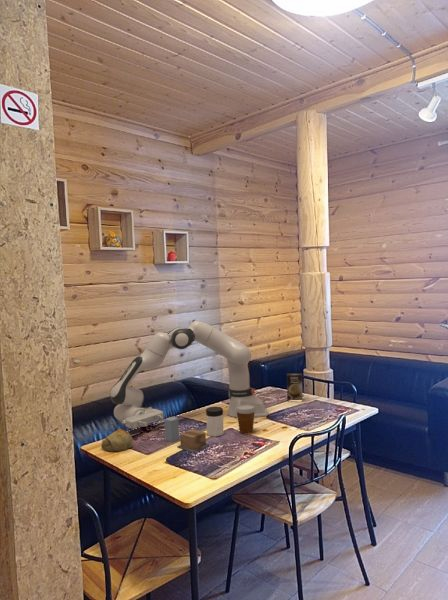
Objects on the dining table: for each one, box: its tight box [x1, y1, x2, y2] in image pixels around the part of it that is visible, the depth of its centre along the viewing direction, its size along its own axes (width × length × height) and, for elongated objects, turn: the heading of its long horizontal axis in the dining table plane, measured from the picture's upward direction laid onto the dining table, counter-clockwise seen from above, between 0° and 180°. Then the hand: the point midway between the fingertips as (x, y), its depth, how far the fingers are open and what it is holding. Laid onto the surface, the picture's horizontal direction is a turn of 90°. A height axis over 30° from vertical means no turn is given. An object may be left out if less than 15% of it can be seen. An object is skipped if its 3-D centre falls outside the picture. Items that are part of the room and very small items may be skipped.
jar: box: [205, 406, 225, 438], centre depth 212 cm, size 9×8×12 cm
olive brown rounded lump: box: [101, 428, 135, 453], centre depth 199 cm, size 14×12×8 cm
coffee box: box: [286, 372, 304, 401], centre depth 264 cm, size 9×6×16 cm
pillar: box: [164, 416, 180, 443], centre depth 205 cm, size 4×4×10 cm
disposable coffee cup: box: [236, 405, 255, 435], centre depth 213 cm, size 10×10×12 cm
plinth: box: [176, 428, 210, 454], centre depth 196 cm, size 10×10×6 cm
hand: (154, 422), depth 213 cm, fingers open, 8 cm apart
